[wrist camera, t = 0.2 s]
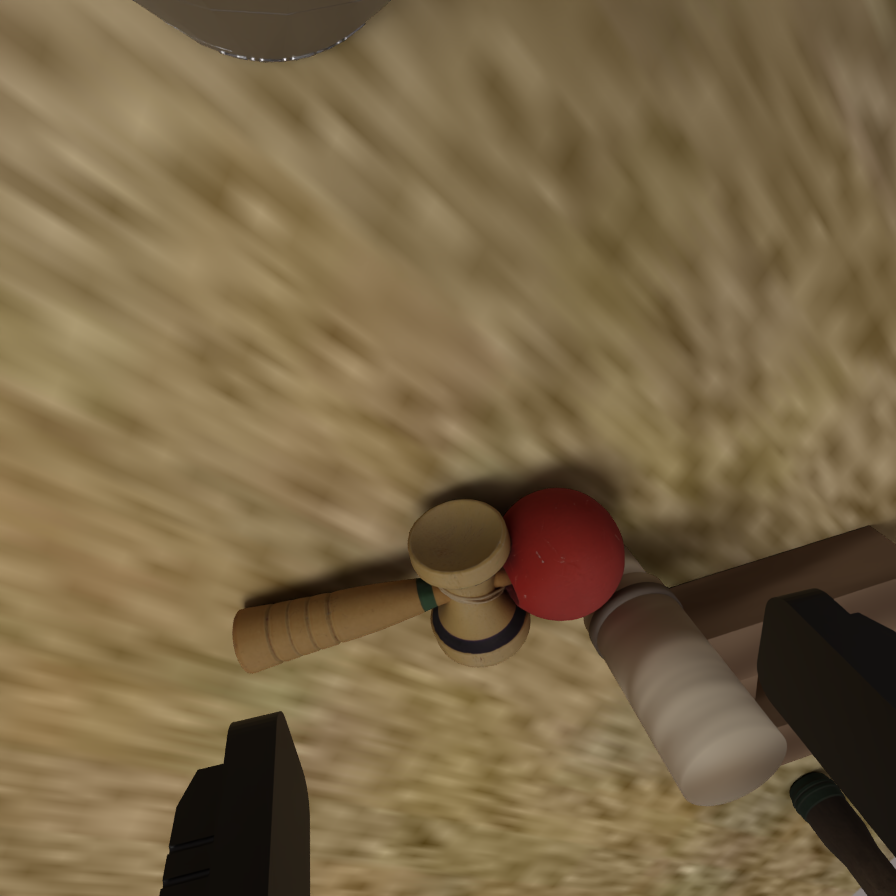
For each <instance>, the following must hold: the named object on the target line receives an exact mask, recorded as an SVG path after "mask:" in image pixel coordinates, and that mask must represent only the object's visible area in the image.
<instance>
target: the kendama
mask: <svg viewBox="0 0 896 896" xmlns="http://www.w3.org/2000/svg"><path fill="white" fill-rule="evenodd" d="M408 551H409V556H410V560H411V563H412V566H413V568H414V570H415V571H416V573H417V574H418V575H419V576H420V578H416V579H408V580H400V581H391V582H384V583H377V584H370V585H364V586H358V587H353V588H348V589H343V590H338V591H334V592H332V593H324V594H319V595H315V596H312V597H304V598H299V599H295V600H288V601H284V602H279V603H275V604H274V605H273V604H268V605H262V606H256V607H249V608H245V609H241V610H239V611H238V612H237V614H236V616H235V618H234V622H233V644H234V649H235V653H236V656H237V658H238V661H239V663H240V665H241V666H242V668H243V669H244V670H245V671H246V672H247V673H256V672H259V671H262V670H264V669H267V668H270V667H273V666H275V665H278V664H281V663H283V662H284V661H289V660H292V659H295V658H298V657H301V656H303V655H307V654H310V653H313V652H316V651H319V650H320V649H325V648H329V647H332V646H335V645H338V644H340V643H341V642H347V641H350V640H353V639H356V638H360V637H362V636H365V635H368V634H371V633H374V632H377V631H379V630H382V629H385V628H387V627H390V626H392V625H395V624H397V623H400V622H402V621H404V620H407V619H409V618H412V617H414V616H416V615H419V614H421V613H423V612H426V611H428V610H430V609H432V611H431V626H432V630H433V632H434V635H435V637H436V639H437V641H438V644H439V645H440V647H441V649H442V650H443V651H444V653H445V654H446V655H447V656H448V657H450V658H451V659H452V660H454V661H456V662H457V663H459V664H462V665H465V666H469V667H488V666H493V665H497V664H499V663H501V662H503V661H505V660H507V659H509V658H510V657H511V656H513V655H514V654H515V653H516V652H517V651H518V650H519V649H520V648H521V646H522V645H523V644H524V642H525V640H526V638H527V635H528V633H529V629H530V614H532V615H535V616H537V617H540V618H544V619H548V620H556V621H565V620H574V619H578V618H582V617H585V616H587V615H589V614H591V613H593V612H594V611H596V610H597V609H599V608H600V607H601V606H603V605H604V604H605V603H606V602H607V601H608V600H609V599H610V598H611V596H612V595H613V594H614V592H615V590H616V589H617V587H618V585H619V583H620V581H621V579H622V576H623V572H624V567H625V551H624V544H623V539H622V536H621V533H620V531H619V529H618V527H617V525H616V523H615V521H614V520H613V518H612V517H611V515H610V514H609V513H608V512H607V511H606V509H605V508H604V507H603V506H602V505H600V504H599V503H598V502H597V501H595V500H594V499H593V498H591V497H589V496H588V495H586V494H584V493H582V492H579V491H576V490H572V489H566V488H549V489H543V490H539V491H536V492H533V493H531V494H529V495H526V496H525V497H523V498H521V499H520V500H519V501H517V502H516V503H515V504H514V505H513V506H512V507H511V508H510V509H509V510H508V511H507V512H506V514H505V515H504V516H503V517H502V516H501V514H500V513H499V512H498V511H497V510H496V509H495V508H493V507H492V506H490V505H488V504H487V503H485V502H482V501H478V500H472V499H458V500H452V501H448V502H444V503H442V504H439V505H437V506H435V507H433V508H431V509H430V510H428V511H427V512H425V513H424V514H423V515H422V516H421V517H420V518H419V519H418V520H417V521H416V522H415V523H414V525H413V527H412V528H411V530H410V532H409V538H408Z"/></svg>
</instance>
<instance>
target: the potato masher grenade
mask: <svg viewBox="0 0 896 896" xmlns="http://www.w3.org/2000/svg"><path fill="white" fill-rule="evenodd" d="M790 797H791V800H792V803H793V806H794V808H795V809H796V811H797V813H799V814H800V815H801V816H802V817H803V819H804V820H805V821H806V822H808V823H809V824H810V826H811V827H812V828H813V830H814V831H815V832H816V834H817V835H818V836H819V838H820V839H821V841H822V842H823V843H824V845H825V846H826V847H827V848H828V849H829V850H830V851H831V852H832V853H833V854H834V855H835V856H836V857H837V858H838V859H839V860H840V861H841V862H842V863H843V864H844V865H845V866H846V867H847V868H848V870H849V871H850V873H851V874H852V875H853V877H854V878H855V879H856V881H857V882H858V883H859V885H860V886H861V887H862V889H863V890H864V892H865V893H866V894H867V896H896V869H895V868H894V867H893V865H892V864H891V863H890V862H889V860H888V859H887V858H886V857H885V855H884V854H883V853H882V852H881V850H880V849H879V848H878V846H877V844H876V843H875V841H874V839H873V837H872V836H871V834H870V832H869V830H868V829H867V827H866V825H865V823H864V822H863V821H862V820H861V818H860V817H859V816H858V815H857V813H856V812H855V811H854V810H853V808H852V807H851V806H850V804H849V803H848V802H847V801H846V799H845V796H844V795H843V793H842V792H841V790H840V788H839V787H838V786H837V785H836V784H835V782H834V781H833V780H831V779H829V778H828V777H827V776H825V775H824V774H822V773H810V774H808V775H805V776H803V777H802V778H800V779H799V780H797V781H796V782H795V783H794V784H793V786H792V787H791V790H790Z"/></svg>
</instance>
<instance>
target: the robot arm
mask: <svg viewBox="0 0 896 896" xmlns="http://www.w3.org/2000/svg"><path fill="white" fill-rule="evenodd" d="M133 1H135V2H136V3H138V4H139V5H141V6H142V7H144V8H145V9H147V10H148V11H150V12H151V13H153V14H154V15H156V16H157V17H159V18H160V19H162V20H163V21H164V22H166V23H168V24H169V25H171V26H173V27H174V28H176V29H178V30H179V31H181V32H183V33H184V34H186V35H187V36H189V37H190V38H192V39H193V40H195V41H197V42H198V43H200V44H201V45H204V46H206V47H209V48H211V49H214V50H216V51H219V52H220V53H221V54H224V55H228V56H231V57H235V58H239V59H244V60H250V61H259V62H265V63H266V62H284V61H293V60H299V59H302V58H306V57H310V56H313V55H316V54H317V53H320V52H323V51H326V50H328V49H330V48H332V47H334V46H336V45H337V44H339V43H341V42H343V41H344V40H346V39H347V38H348V37H350V36H351V35H352V34H354V33H355V32H356V31H358V30H359V29H360V28H361V27H363V26H364V25H365V24H366V23H365V22H367V21H368V20H369V19H370V18H371V17H372V16H374V15H375V14H376V13H377V12H378V11H379V10H381V9H382V8H383V7H384V6H385V5H386V4H388V3H389V2H390V1H391V0H133ZM757 673H758V677H759V681H760V684H761V686H762V688H763V691H764V692H765V694H766V696H767V698H768V699H769V701H770V702H771V703H772V705H773V706H774V707H775V708H776V710H777V711H778V712H779V713H780V715H781V716H782V717H783V718H784V720H785V721H786V722H787V723H788V725H789V726H790V727H791V728H792V730H793V731H794V732H795V733H796V734H797V736H798V737H799V738H800V739H801V741H802V742H803V743H804V744H805V746H806V747H807V748H808V749H809V751H810V752H811V753H812V754H813V756H814V757H815V758H816V759H817V761H818V762H819V763H820V764H821V766H822V767H823V768H824V769H825V770H826V772H827V773H828V774H829V775H830V777H831V778H832V779H833V780H834V782H835V783H836V784H837V785H838V787H839V788H840V789H841V790H842V792H843V793H844V794H845V795H846V797H847V798H848V799H849V800H850V801H851V803H852V804H853V805H854V806H855V808H856V809H857V810H858V811H859V813H860V814H861V815H862V816H863V818H864V819H865V820H866V821H867V823H868V824H869V825H870V826H871V828H872V829H873V830H874V831H875V832H876V834H877V835H878V836H879V837H880V839H881V840H882V841H883V842H884V844H885V845H886V846H887V847H888V849H889V850H890V851H891V852H892V854H893V855H894V856H895V857H896V632H895V631H894V630H892V629H890V628H888V627H886V626H884V625H882V624H880V623H878V622H876V621H874V620H872V619H870V618H868V617H867V616H865V615H863V614H861V613H859V612H857V613H853V614H850V613H848V612H847V611H846V610H845V609H844V608H843V607H842V606H841V605H839V604H838V603H837V602H836V601H835V600H834V599H833V598H832V597H831V596H829V595H828V594H827V593H826V592H824V591H822V590H820V589H817V588H812V589H807V590H803V591H799V592H795V593H790V594H786V595H782V596H777V597H773V598H771V599H769V600H768V602H767V604H766V607H765V613H764V619H763V626H762V632H761V639H760V645H759V652H758V658H757ZM169 849H170V852H169V854H168V855H167V859H166V864H165V869H164V875H163V880H162V881H163V889H161V890H160V895H159V896H310V812H309V800H308V792H307V786H306V781H305V776H304V773H303V770H302V767H301V764H300V761H299V758H298V755H297V752H296V749H295V746H294V743H293V740H292V737H291V734H290V731H289V728H288V725H287V722H286V719H285V716H284V714H283V713H282V712H281V711H279V712H275V713H271V714H267V715H262V716H258V717H254V718H250V719H245V720H241V721H237V722H233V723H231V724H230V727H229V730H228V735H227V742H226V749H225V757H224V764H220V765H216V766H212V767H208V768H204V769H199V770H197V772H196V774H195V776H194V777H193V779H192V781H191V783H190V784H189V786H188V788H187V790H186V791H185V793H184V795H183V797H182V798H181V800H180V802H179V804H178V805H177V807H176V812H175V817H174V823H173V828H172V833H171V838H170V843H169Z"/></svg>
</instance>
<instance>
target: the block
mask: <svg viewBox="0 0 896 896" xmlns="http://www.w3.org/2000/svg"><path fill="white" fill-rule="evenodd" d="M812 588H817V589H820V590H822V591H824V592H826V593H827V594H828V595H829V596H831V597H832V598H833V599H834V600H835V601H836V602H837V603H838V604H839V605H841V606H842V607H843V608H844V609H845V610H846V611H847V612H848V613H850V614H853V613H857V612H859V613H861V614H863V615H865V616H867V617H868V618H870V619H872V620H874V621H876V622H878V623H880V624H882V625H884V626H886V627H888V628H890V629H892V630H894V631H895V632H896V544H894V543H893V542H892V541H890V540H889V539H887V538H886V537H885V536H883V535H882V534H880V533H879V532H878V531H876V530H875V529H874V528H872V527H871V526H867V527H864V528H861V529H857V530H854V531H851V532H848V533H845V534H841V535H838V536H835V537H832V538H829V539H825V540H822V541H819V542H816V543H813V544H809V545H806V546H803V547H800V548H797V549H793V550H790V551H787V552H784V553H781V554H777V555H774V556H771V557H768V558H765V559H761V560H758V561H755V562H752V563H749V564H746V565H742V566H739V567H736V568H733V569H730V570H726V571H723V572H720V573H717V574H714V575H710V576H707V577H704V578H701V579H698V580H694V581H691V582H688V583H685V584H682V585H678V586H675V587H672V588H669V589H670V590H671V591H672V593H673V594H674V595H675V596H676V598H677V599H678V600H679V601H680V603H681V605H682V607H683V610H684V611H685V612H686V614H687V615H688V616H689V617H690V619H691V620H692V621H693V623H694V624H695V625H696V626H697V628H698V629H699V630H700V631H701V633H702V634H703V635H704V636H705V638H706V639H707V640H708V641H709V643H710V644H711V645H712V647H713V648H714V649H715V650H716V652H717V653H718V654H719V655H720V657H721V658H722V659H723V660H724V662H725V663H726V664H727V665H728V667H729V668H730V669H731V671H732V672H733V673H734V674H735V676H736V677H737V678H738V679H739V681H740V682H741V683H742V684H743V686H744V687H745V688H746V690H747V691H748V692H749V693H750V695H751V696H752V697H753V698H754V700H755V701H756V702H757V703H758V705H759V706H760V707H761V708H762V710H763V711H764V712H765V714H766V715H767V716H768V717H769V719H770V720H771V721H772V722H773V724H774V725H775V726H776V727H777V729H778V730H779V731H780V733H781V734H782V735H783V736H784V738H785V740H786V742H787V751H786V755H785V758H784V760H783V762H782V763H781V765H783V764H786V763H789V762H792V761H795V760H798V759H800V758H803V757H806V756H809V755H812V753H811V752H810V751H809V749H808V748H807V747H806V746H805V744H804V743H803V742H802V741H801V739H800V738H799V737H798V736H797V734H796V733H795V732H794V731H793V730H792V728H791V727H790V726H789V725H788V723H787V722H786V721H785V720H784V718H783V717H782V716H781V715H780V713H779V712H778V711H777V710H776V708H775V707H774V706H773V705H772V703H771V702H770V701H769V699H768V698H767V696H766V694H765V692H764V691H763V688H762V686H761V684H760V681H759V677H758V673H757V658H758V652H759V645H760V639H761V632H762V626H763V619H764V613H765V607H766V604H767V602H768V600H769V599H771V598H773V597H777V596H782V595H786V594H790V593H795V592H799V591H803V590H807V589H812ZM781 765H780V766H781Z"/></svg>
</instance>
